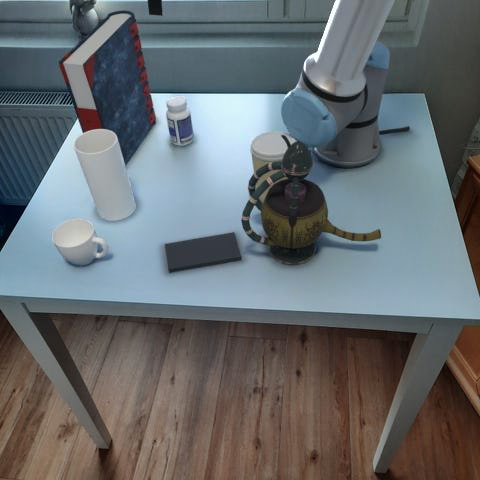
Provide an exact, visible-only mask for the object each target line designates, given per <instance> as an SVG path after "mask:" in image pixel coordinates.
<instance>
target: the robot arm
mask: <svg viewBox="0 0 480 480" xmlns="http://www.w3.org/2000/svg"><path fill="white" fill-rule="evenodd" d="M395 2H396V0H335V2H334V4H333V6H332V10H331V13H330V16H329V19H328V21H327V24H326V27H325V30H324V32H323V36H322V38H321V41H320V44H319V47H318V50H317V51H316V52H313V53H311V54H309V56H308V57H307V58H306V59H305V61H304V64H303V68H302V70H301V73H300V76H299V79H298V82H297V84H296V86H295V87H294V89H291V90H290V91H288V92H287V94H286V95H285V97H284V98H283V100H282V103H281V105H280V106H281V107H280V116H281V120H282V123H283V124H284V126H285V127H286V131H287V133H288V134H290V135H291V136H292V137H293V138H294V139H295V140H296V141H300V142H302V143H304V144H305V145H306V146H307V148H312V150H313V153H314V155H315V156H316V157H317V159H319V160H320V161H321V162H323V163H325V164H327V165H329V166H333V167H336V168H344V169H354V168H360V167H364V166H367V165H369V164H371V163H372V162H374V161H375V160H376V159H377V157H378V156H379V153H380V149H381V136H383V135H389V134H398V133H399V134H400V133H404V132H408V131H410V129H411V127H410V126H404V127H397V128H387V129H383V130H382V129H381V130H380V129H379V122H378V119H379V114H380V108H381V105H382V104H381V103H382V99H383V94H384V91H385V85H386V80H387V76H388V71H389V69H390V65H389V64H390V59H391V58H390V57H391V53H390V50H389V48H388V47H387V46H386V45H385V44H384V43H381V42H379V41H378V39H379V36H380V34H381V32H382V30H383V28H384V26H385V23H386V21H387V19H388V16H389V14H390V12H391V10H392V8H393V6H394V4H395ZM147 7H148V9H147V10H148V15H149V16H161V17H163V16H164V7H163V0H147Z"/></svg>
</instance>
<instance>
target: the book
mask: <svg viewBox="0 0 480 480" xmlns="http://www.w3.org/2000/svg"><path fill="white" fill-rule="evenodd" d="M142 48H143V47H142V42H141V37H140V35H139V28H138V22H137V19H136V16H135V13H134V12H133V11H131V10H116V11H111V12H109V13H107V16H106V17H104V19H102V20H101V21H100V23H98V24H97V25H96V26H95V27H94V28H93V29H92V30H91V31H90V32H89V33H88V34H86V35H85V36H84V37H83V38H82V39H81V40H80V41H79V42H78V43H77V44H76V45H75V46H73V48H72V49H71V50H69V52H67V53H66V54H65V55H64V56H63V57H62V58H61V59H60V60H59V61H58V67H59V69H60V72H61V73H62V78H63V80H64V83H65V85H66V88H67V91H68V93H69V97H70V100H71V102H72V105H73V108H74V111H75V114H76V118H77V120H78V124H79V126H80V129H81V132H82V134H83V133H85V132H87V131H90V130H95V129H106V130H110V131H112V132H114V133H115V134H116V136H117V138H118V142H119V145H120V149H121V152H122V156H123V160H124V163H125V167H126V166H127V164H128V163H129V162H130V160H131V159H132V157H133V156H134V154H135V153H136V151H137V150H138V148H139V147H140V146H141V144H142V143H143V141H144V140H145V138H146V137H147V135H148V134H149V133H150V131H151V130H152V128H153V127H154V126H155V125H156V124H157V121H156V119H157V117H156V113H155V112H156V111H155V108H154V102H153V98H152V94H151V93H152V92H151V88H150V82H149V80H148V79H149V77H148V72H147V67H146V66H145V65H146V62H145V58H144V52H143V51H142Z"/></svg>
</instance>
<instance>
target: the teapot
mask: <svg viewBox="0 0 480 480" xmlns="http://www.w3.org/2000/svg"><path fill="white" fill-rule="evenodd" d="M281 137H282V138H283V139H284V141H285V142H286V144H287V147H288V149H287V150H286V152H285V154H284V156H283V159H282V161H275V162H271V163H268V164H266V165H264V166H262V167H260V168H259V169H258V170H257V171H256V172H255V173H254V172H253V174H252V175H251V177H250V179H249V180H248V185H247V190H248V194H249V195H248V196H249V198H248V200H247V202H246V203H245V205H244V208H243V210H242V214H241V218H240V222H241V226H242V229H243V231H244V232H245V234H246V235H247V237H248V238H250V239H251V240H252V241H253V242H255V243H259V244H262V245H266V246H267V247H268V253H269V255H270V257H271V258H272V259H273V260H274V261H276V262H278V263H279V264H282V265H285V266H299V265H303V264H306V263H308V262H309V261H310V260H312V258H313V257H314V256H315V253H316V250H317V247H316V243H315V241H316V240H317V239H318V238H319V237H320V236H321V235H322V234H323V233H326V234H331V235H333V236H336V237H339V238H342V239H345V240H348V241H351V242H371V241H377V240H380V239H382V231H381V228H378V229H376V230H373V231H371V232H366V233H365V232H364V233H362V232H361V233H360V232H359V233H358V232H352V231H346V230H344V229H341V228H339V227H337V226H335V225H334V224H333V223H332V222H331V221H330V220H329V219H328V218H329V208H328V204H327V200H326V196H325V194H324V192H323V190H322V189H321V187H320V186H319V185H318V184H316V183H315V182H313V181H311V180H308V179H306V178H307V176H308V175H309V174H310V173H311V171H312V170H313V167H314V161H313V155H312V154H311V151H310V149H309V147H307V146H306V145H305V144H304V143H302V142H300V141H296V142H294V143H293V144H292V145H291V144H290V142H289V140H288V138H287V137H286V136H285V135H281ZM273 170H280V171H278V172H276V173H274V174H273V175H271V176H270V177H268V178H267V179H266V180H265V181H263V182H262V183H261V185H260V186H259V187H258V188H257V189H256V183H257V181H258V180H259V179H260V178H261V176H262V175H264V174H266V173H268V172H269V171H273ZM284 177H285V178H286V177H287V178H288V179H285V180H281V181H279V182H277V183H275V182H276V181H278V180H280V179H282V178H284ZM274 183H275V184H274ZM272 184H274V185H273V186H272V187H271V188H270V189H269V191H268V192H267V194H266V197H265V199H264V201H263V202H262V201H260V199H259V197H260V196H261V195H262V194H263V193H264V192H265V191H266V190H267V188H268V187H270V186H271V185H272ZM255 207H256V209H257V210H258V211H260V221H261V227H262V229H263V231H264V232H265V234H266V235H267V236H265V235H261V234H257V232H255V231H254V229H253V228H252V226H251V222H250V219H251V218H250V217H251V214H252V211H253V210H254V208H255Z"/></svg>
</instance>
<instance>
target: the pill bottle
mask: <svg viewBox="0 0 480 480" xmlns="http://www.w3.org/2000/svg"><path fill="white" fill-rule="evenodd" d="M165 105H166V108H167V109H166V111H165V116H166V122H167V127H168V132H169V139H170V141H171V143H172V144H173V145H174V146H180V147H182V146H188V145H190V144H191V143H193V141H194V139H195V136H194V135H195V134H194V128H193V122H192V115H191V110H190V108H189V107H188V101H187V98H186V97H185V96H183V95H174V96H171V97H169V98H168V99H166V102H165Z"/></svg>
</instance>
